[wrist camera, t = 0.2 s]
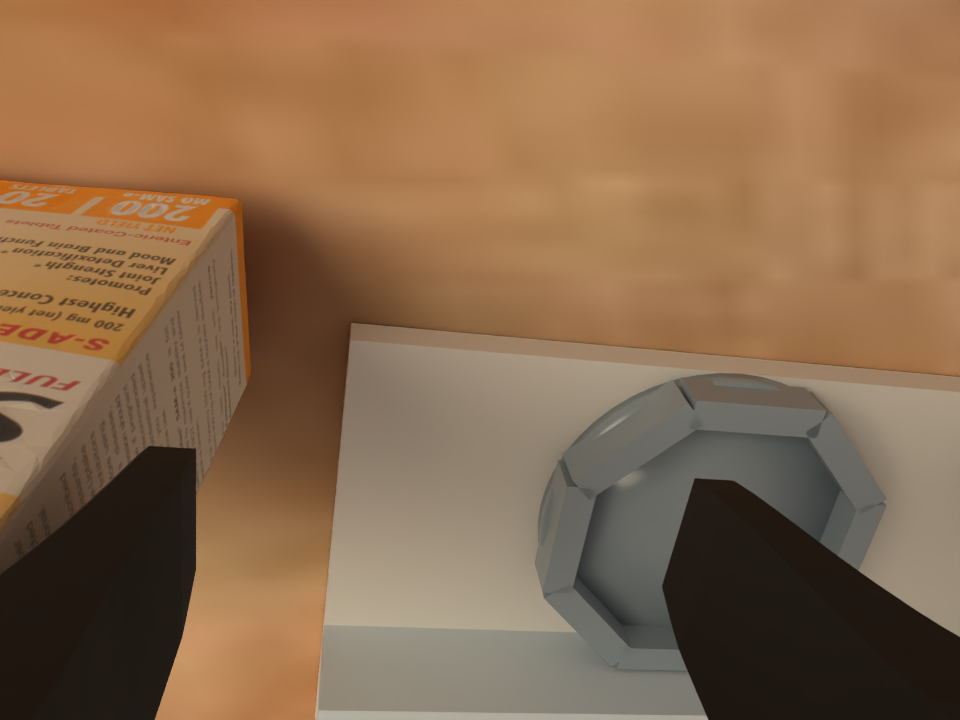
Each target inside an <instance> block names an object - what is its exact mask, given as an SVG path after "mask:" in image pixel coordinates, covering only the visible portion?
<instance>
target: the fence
mask: <svg viewBox="0 0 960 720" xmlns="http://www.w3.org/2000/svg"><path fill="white" fill-rule="evenodd" d="M317 720H708V718H707V716H706V713H705V711H704V709H703V706H702V704H701V702H700V699H699V697H698V695H697V692H696V690H695V687H694V685H693V683H692V680H691V678H690V676H689V673H688V671H677V670H633V669H617V667H616V664H615V665H613V666H610V665H609V664H608V663H607V662H606V661H605V660H604V659H603V658H602V657H601V656H600V655H599V654H598V653H597V652H596V651H595V650H594V649H593V648H592V647H591V646H590V645H589V644H588V643H587V642H586V641H585V640H584V639H583V638H582V637H581V636H580V635H579V634H578V633H577V632H547V631H514V630H481V629H448V628H414V627H381V626H348V625H324V630H323V640H322V651H321V667H320V682H319V698H318V713H317Z"/></svg>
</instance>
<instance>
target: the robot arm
mask: <svg viewBox="0 0 960 720" xmlns="http://www.w3.org/2000/svg"><path fill="white" fill-rule="evenodd" d="M195 571H196V449H194V448H177V447H160V446H148V447H147V448H146V449H144V450H143V451H142V452H140V453H139V454H138V455H137V456H136V457H135V458H134V459H133V460H132V461H131V462H130V463H129V464H128V465H127V466H126V467H125V468H123V469H122V470H121V471H120V472H119V473H118V474H117V475H116V476H115V477H114V478H113V479H112V480H111V481H110V482H109V483H108V484H107V485H106V486H105V487H103V488H102V489H101V490H100V491H99V492H98V493H97V494H96V495H95V496H94V497H93V498H92V499H90V500H89V501H88V502H87V503H86V504H85V505H84V506H83V507H81V508H80V509H79V510H78V511H77V512H76V513H75V514H73V515H72V516H71V517H70V518H69V519H68V520H67V521H65V522H64V523H63V524H62V525H61V526H60V527H59V528H57V529H56V530H55V531H54V532H53V533H52V534H50V535H49V536H48V537H47V538H46V539H44V540H43V541H42V542H41V543H40V544H38V545H37V546H36V547H34V548H33V549H32V550H31V551H29V552H28V553H27V554H25V555H24V556H23V557H22V558H20V559H19V560H18V561H17V562H15V563H14V564H13V565H11V566H10V567H9V568H8V569H6V570H5V571H4V572H3V573H1V574H0V720H155V717H156V714H157V711H158V708H159V705H160V702H161V699H162V696H163V693H164V690H165V687H166V684H167V681H168V678H169V675H170V672H171V669H172V666H173V663H174V660H175V657H176V654H177V651H178V648H179V645H180V642H181V639H182V635H183V630H184V626H185V621H186V616H187V611H188V607H189V602H190V596H191V591H192V586H193V581H194V576H195ZM662 589H663V593H664V597H665V601H666V605H667V609H668V613H669V617H670V621H671V625H672V628H673V631H674V635H675V638H676V642H677V645H678V649H679V651H680V654H681V656H682V659H683V661H684V664H685V666H686V668H687V671H688V673H689V676H690V678H691V680H692V683H693V685H694V687H695V690H696V692H697V695H698V697H699V699H700V702H701V704H702V706H703V709H704V711H705V713H706V716H707V718H708V720H960V637H959V636H957V635H956V634H954V633H952V632H951V631H949V630H947V629H945V628H944V627H942V626H940V625H939V624H937V623H936V622H934V621H932V620H931V619H929V618H928V617H926V616H924V615H923V614H921V613H920V612H918V611H917V610H915V609H914V608H912V607H911V606H909V605H908V604H906V603H905V602H903V601H902V600H900V599H899V598H897V597H896V596H894V595H893V594H891V593H890V592H888V591H887V590H885V589H884V588H882V587H881V586H879V585H878V584H876V583H875V582H874V581H872V580H871V579H869V578H868V577H867V576H865V575H864V574H862V573H861V572H859V571H858V570H857V569H855V568H854V567H852V566H851V565H850V564H848V563H847V562H846V561H844V560H843V559H841V558H840V557H839V556H837V555H836V554H835V553H833V552H832V551H831V550H829V549H828V548H827V547H825V546H824V545H823V544H821V543H820V542H819V541H817V540H816V539H815V538H813V537H812V536H811V535H809V534H808V533H806V532H805V531H804V530H803V529H801V528H800V527H799V526H797V525H796V524H795V523H793V522H792V521H791V520H789V519H788V518H787V517H785V516H784V515H783V514H781V513H780V512H779V511H777V510H776V509H775V508H773V507H772V506H770V505H769V504H768V503H766V502H765V501H764V500H762V499H761V498H759V497H758V496H757V495H755V494H754V493H752V492H751V491H749V490H748V489H746V488H745V487H743V486H742V485H740V484H738V483H737V482H735V481H733V480H717V479H700V478H695V479H694V482H693V485H692V488H691V492H690V495H689V498H688V502H687V505H686V508H685V512H684V515H683V518H682V521H681V525H680V528H679V531H678V535H677V538H676V541H675V545H674V548H673V551H672V554H671V558H670V561H669V564H668V568H667V571H666V574H665V578H664V581H663V584H662Z"/></svg>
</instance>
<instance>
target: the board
mask: <svg viewBox="0 0 960 720" xmlns="http://www.w3.org/2000/svg"><path fill="white" fill-rule="evenodd" d="M713 373H741V374H747V375H754V376H761V377H764V378H768V379H771V380H775V381H778V382H781V383H783V384H785V385H788V386H793V387H805V388H806V389H807V390H808V391H809V392H810V391H812V392H813V393H814V394H815V395H816V396H817V398H818V399H819V400H820V401H821V402H822V403H823V404H824V405H825V406H826V407H827V408H828V409H829V410H830V411H831V412H832V413H833V415H834V416H835V418H836V419H837V421H838V423H839V424H840V426H841V427H842V429H843V431H844V432H845V434H846V435H847V437H848V439H849V440H850V442H851V443H852V445H853V446H854V448H855V450H856V451H857V453H858V454H859V456H860V458H861V459H862V461H863V462H864V464H865V466H866V467H867V469H868V470H869V472H870V474H871V475H872V477H873V478H874V480H875V481H876V483H877V485H878V486H879V488H880V489H881V491H882V493H883V494H884V496H885V497H886V500H884V501H883V502H884V503H885V504H886V509H885V511H884V513H883V516H882V518H881V520H880V522H879V525H878V527H877V529H876V532H875V534H874V536H873V539H872V541H871V543H870V546H869V548H868V550H867V552H866V555H865V557H864V559H863V562H862V564H861V566H860V569H859V572H861V573H862V574H864V575H865V576H867V577H868V578H869V579H871V580H872V581H874V582H875V583H876V584H878V585H879V586H881V587H882V588H884V589H885V590H887V591H888V592H890V593H891V594H893V595H894V596H896V597H897V598H899V599H900V600H902V601H903V602H905V603H906V604H908V605H909V606H911V607H912V608H914V609H915V610H917V611H918V612H920V613H921V614H923V615H924V616H926V617H928V618H929V619H931V620H932V621H934V622H936V623H937V624H939V625H940V626H942V627H944V628H945V629H947V630H949V631H951V632H952V633H954V634H956V635H957V636H959V637H960V377H955V376H944V375H933V374H921V373H910V372H899V371H888V370H876V369H865V368H854V367H843V366H832V365H820V364H809V363H798V362H787V361H775V360H764V359H753V358H742V357H730V356H719V355H708V354H697V353H685V352H674V351H663V350H652V349H640V348H629V347H618V346H607V345H595V344H584V343H573V342H562V341H550V340H539V339H528V338H517V337H505V336H494V335H483V334H472V333H460V332H449V331H438V330H427V329H415V328H404V327H393V326H382V325H370V324H359V323H351V331H350V342H349V353H348V363H347V374H346V385H345V396H344V407H343V417H342V428H341V439H340V450H339V460H338V471H337V482H336V493H335V503H334V514H333V525H332V536H331V546H330V557H329V568H328V579H327V590H326V600H325V611H324V622H323V630H324V625H348V626H381V627H414V628H448V629H481V630H514V631H547V632H576V631H575V630H574V629H573V628H572V627H571V626H570V625H569V624H568V623H567V622H566V621H565V619H564V618H563V617H562V616H561V615H560V614H559V613H558V612H557V611H556V610H555V609H554V608H553V607H552V606H551V605H550V604H549V603H548V602H547V601H546V600H545V599H544V597H543V593H542V589H541V585H540V581H539V577H538V574H537V570H536V566H535V559H536V554H537V550H538V545H539V543H538V518H539V511H540V505H541V502H542V498H543V495H544V492H545V488H546V486H547V484H548V482H549V480H550V478H551V475H552V473H553V471H554V469H555V468H556V465H557V461H558V460H561V458H562V457H563V454H562V453H564V452H565V451H567V450H568V449H569V448H570V446H571V445H572V444H573V443H574V442H575V440H576V439H577V438H578V437H579V436H580V435H581V434H582V433H583V432H584V431H585V430H586V429H587V428H588V427H589V426H590V425H591V424H592V423H593V422H595V421H596V420H597V419H599V418H600V417H601V416H603V415H604V414H605V413H607V412H608V411H609V410H610V409H612V408H613V407H615V406H617V405H619V404H620V403H622V402H624V401H625V400H627V399H629V398H630V397H632V396H634V395H636V394H639V393H641V392H643V391H645V390H647V389H649V388H652V387H654V386H657V385H660V384H663V383H666V382H669V381H671V380H672V379H673V380H676V379H681V377H690V376H695V375H703V374H713ZM322 640H323V633H322ZM321 651H322V643H321ZM320 667H321V654H320V665H319V676H318V686H317V697H316V708H315V719H314V720H317V713H318V698H319V682H320Z"/></svg>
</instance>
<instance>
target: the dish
mask: <svg viewBox="0 0 960 720" xmlns="http://www.w3.org/2000/svg"><path fill="white" fill-rule="evenodd" d="M562 454H563V457H562V458H561V460H558V461H557V465H556V468H555V469H554V471H553V473H552V475H551V478H550V480H549V482H548V484H547V486H546V488H545V492H544V495H543V498H542V502H541V505H540V511H539V518H538V543H539V545H538V550H537V554H536V559H535V566H536V570H537V574H538V577H539V581H540V585H541V589H542V593H543V597H544V599H545V600H546V601H547V602H548V603H549V604H550V605H551V606H552V607H553V608H554V609H555V610H556V611H557V612H558V613H559V614H560V615H561V616H562V617H563V618H564V619H565V621H566V622H567V623H568V624H569V625H570V626H571V627H572V628H573V629H574V630H575V631H576V632H577V633H578V634H579V635H580V636H581V637H582V638H583V639H584V640H585V641H586V642H587V643H588V644H589V645H590V646H591V647H592V648H593V649H594V650H595V651H596V652H597V653H598V654H599V655H600V656H601V657H602V658H603V659H604V660H605V661H606V662H607V663H608V664H609V665H610V666H613V665H615V664H616V667H617V669H633V670H677V671H687V668H686V666H685V664H684V661H683V659H682V656H681V654H680V651H679V649H678V645H677V642H676V638H675V635H674V631H673V628H672V625H671V621H670V617H669V613H668V609H667V605H666V601H665V597H664V593H663V589H662V584H663V581H664V578H665V574H666V571H667V568H668V564H669V561H670V558H671V554H672V551H673V548H674V545H675V541H676V538H677V535H678V531H679V528H680V525H681V521H682V518H683V515H684V512H685V508H686V505H687V502H688V498H689V495H690V492H691V488H692V485H693V482H694V479H695V478H700V479H717V480H733V481H735V482H737V483H738V484H740V485H742V486H743V487H745V488H746V489H748V490H749V491H751V492H752V493H754V494H755V495H757V496H758V497H759V498H761V499H762V500H764V501H765V502H766V503H768V504H769V505H770V506H772V507H773V508H775V509H776V510H777V511H779V512H780V513H781V514H783V515H784V516H785V517H787V518H788V519H789V520H791V521H792V522H793V523H795V524H796V525H797V526H799V527H800V528H801V529H803V530H804V531H805V532H806V533H808V534H809V535H811V536H812V537H813V538H815V539H816V540H817V541H819V542H820V543H821V544H823V545H824V546H825V547H827V548H828V549H829V550H831V551H832V552H833V553H835V554H836V555H837V556H839V557H840V558H841V559H843V560H844V561H846V562H847V563H848V564H850V565H851V566H852V567H854V568H855V569H857V570H858V571H859V569H860V566H861V564H862V562H863V559H864V557H865V555H866V552H867V550H868V548H869V546H870V543H871V541H872V539H873V536H874V534H875V532H876V529H877V527H878V525H879V522H880V520H881V518H882V516H883V513H884V511H885V509H886V504H885V503H884V502H883V501H884V500H886V497H885V496H884V494H883V493H882V491H881V489H880V488H879V486H878V485H877V483H876V481H875V480H874V478H873V477H872V475H871V474H870V472H869V470H868V469H867V467H866V466H865V464H864V462H863V461H862V459H861V458H860V456H859V454H858V453H857V451H856V450H855V448H854V446H853V445H852V443H851V442H850V440H849V439H848V437H847V435H846V434H845V432H844V431H843V429H842V427H841V426H840V424H839V423H838V421H837V419H836V418H835V416H834V415H833V413H832V412H831V411H830V410H829V409H828V408H827V407H826V406H825V405H824V404H823V403H822V402H821V401H820V400H819V399H818V398H817V396H816V395H815V394H814V393H813V392H812V391H810V392H809V391H808V390H807V389H806V388H805V387H793V386H788V385H785V384H783V383H781V382H778V381H775V380H771V379H768V378H764V377H761V376H754V375H747V374H741V373H713V374H703V375H695V376H690V377H681V379H676V380H673V379H672V380H671V381H669V382H666V383H663V384H660V385H657V386H654V387H652V388H649V389H647V390H645V391H643V392H641V393H639V394H636V395H634V396H632V397H630V398H629V399H627V400H625V401H624V402H622V403H620V404H619V405H617V406H615V407H613V408H612V409H610V410H609V411H608V412H607V413H605V414H604V415H603V416H601V417H600V418H599V419H597V420H596V421H595V422H593V423H592V424H591V425H590V426H589V427H588V428H587V429H586V430H585V431H584V432H583V433H582V434H581V435H580V436H579V437H578V438H577V439H576V440H575V442H574V443H573V444H572V445H571V446H570V448H569V449H568V450H567V451H565V452H564V453H562Z"/></svg>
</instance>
